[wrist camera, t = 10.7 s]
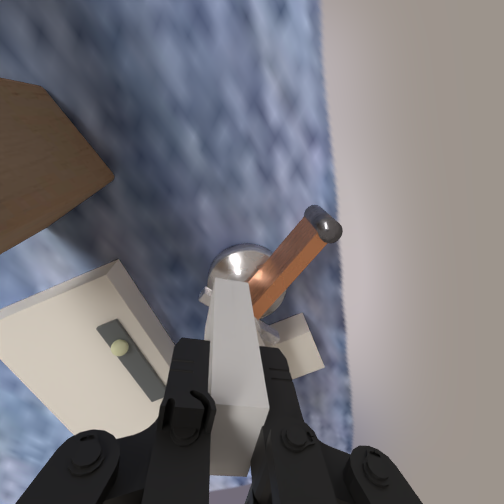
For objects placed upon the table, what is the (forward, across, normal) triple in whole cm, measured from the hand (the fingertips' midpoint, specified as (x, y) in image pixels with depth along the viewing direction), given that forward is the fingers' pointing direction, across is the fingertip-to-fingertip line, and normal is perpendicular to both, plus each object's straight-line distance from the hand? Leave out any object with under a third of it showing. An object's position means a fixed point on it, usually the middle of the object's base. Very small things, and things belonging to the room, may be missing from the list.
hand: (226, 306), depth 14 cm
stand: (+21, -4, -18) cm, 28 cm away
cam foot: (+21, +6, -6) cm, 23 cm away
